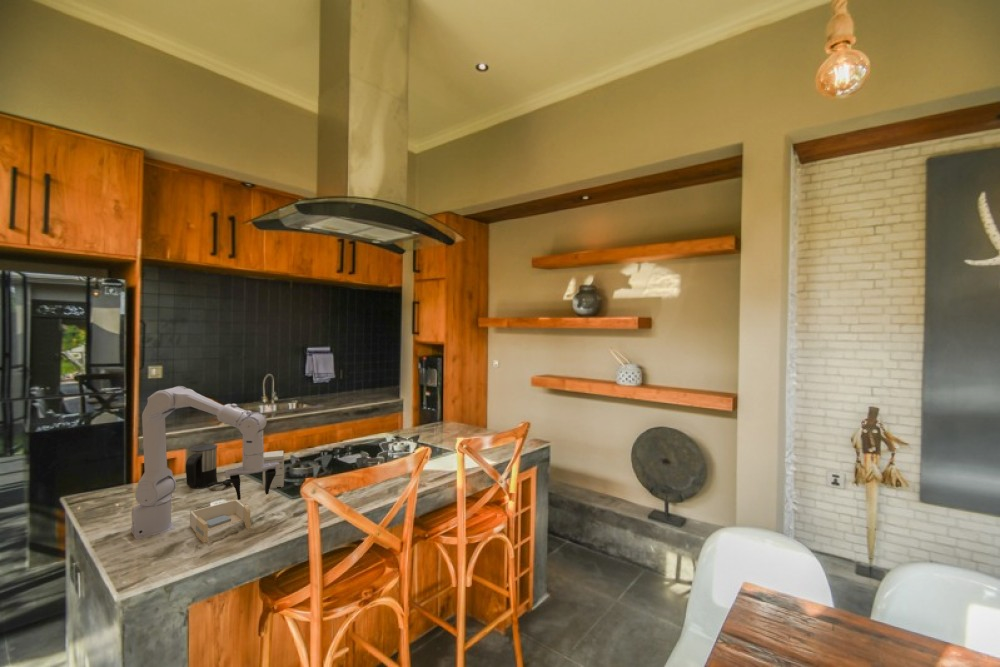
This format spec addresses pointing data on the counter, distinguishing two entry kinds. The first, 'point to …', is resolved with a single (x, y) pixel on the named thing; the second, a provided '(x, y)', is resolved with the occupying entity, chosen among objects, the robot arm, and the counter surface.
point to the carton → (219, 513)
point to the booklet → (218, 521)
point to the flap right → (247, 516)
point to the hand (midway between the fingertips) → (253, 496)
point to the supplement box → (279, 477)
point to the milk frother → (203, 467)
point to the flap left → (201, 529)
